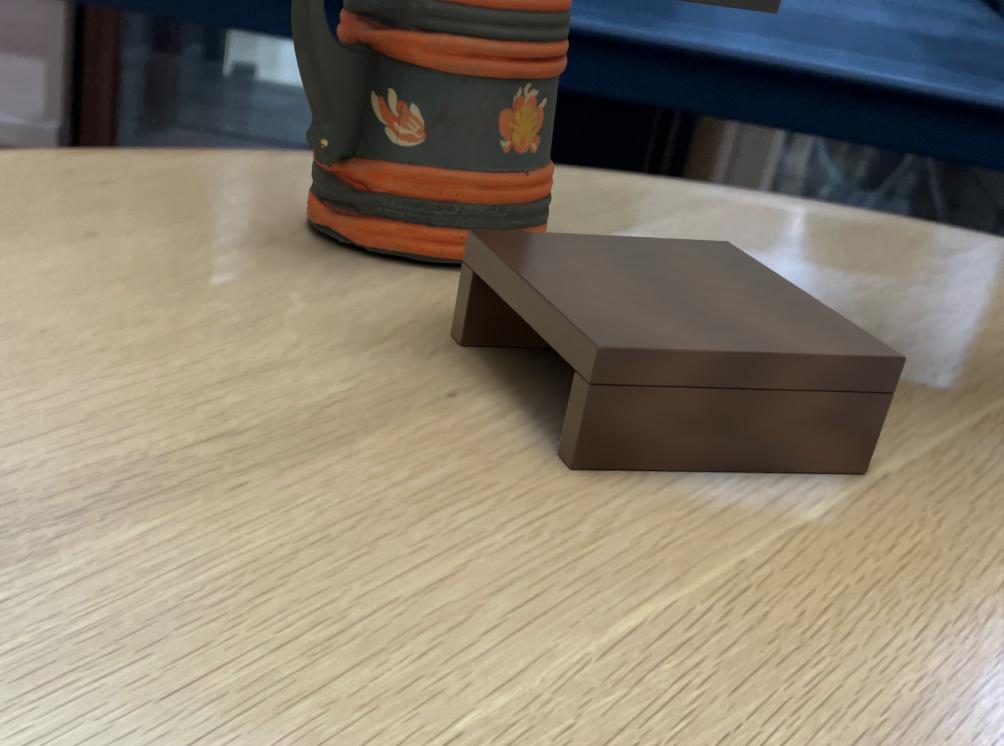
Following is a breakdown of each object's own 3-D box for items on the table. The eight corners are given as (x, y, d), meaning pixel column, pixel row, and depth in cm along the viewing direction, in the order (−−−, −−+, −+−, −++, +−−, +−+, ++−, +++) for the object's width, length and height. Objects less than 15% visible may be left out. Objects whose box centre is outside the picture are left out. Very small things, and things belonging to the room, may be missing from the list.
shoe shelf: (701, 342, 80) (728, 240, 77) (867, 474, 67) (908, 357, 64) (449, 334, 78) (467, 227, 74) (570, 469, 64) (598, 347, 61)
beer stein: (382, 293, 82) (444, -170, 69) (201, 226, 90) (226, -203, 77) (590, 253, 93) (677, -155, 80) (413, 196, 101) (466, -185, 88)
